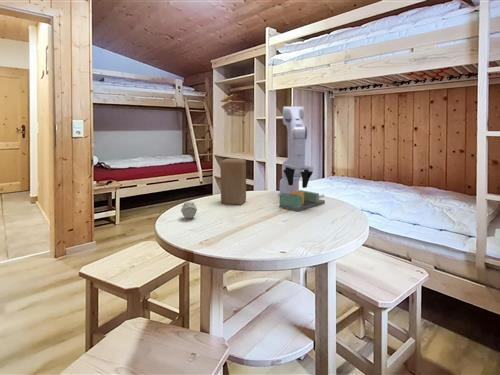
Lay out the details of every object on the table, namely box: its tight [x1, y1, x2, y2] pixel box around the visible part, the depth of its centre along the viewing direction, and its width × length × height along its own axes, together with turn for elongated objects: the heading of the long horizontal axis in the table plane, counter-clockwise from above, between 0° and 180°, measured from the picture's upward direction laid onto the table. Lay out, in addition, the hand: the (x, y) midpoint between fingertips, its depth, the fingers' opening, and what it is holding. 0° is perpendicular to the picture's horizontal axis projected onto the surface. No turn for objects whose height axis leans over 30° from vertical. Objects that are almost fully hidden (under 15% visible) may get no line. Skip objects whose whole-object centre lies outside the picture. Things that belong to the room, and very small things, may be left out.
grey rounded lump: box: [180, 200, 198, 219], centre depth 129 cm, size 6×7×7 cm
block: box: [219, 158, 247, 206], centre depth 154 cm, size 10×10×20 cm
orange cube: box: [290, 191, 304, 204], centre depth 146 cm, size 4×5×5 cm
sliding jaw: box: [299, 189, 325, 203], centre depth 154 cm, size 10×7×4 cm
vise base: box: [278, 193, 326, 212], centre depth 149 cm, size 10×20×6 cm, turn 134°
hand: (297, 186), depth 146 cm, fingers open, 7 cm apart
